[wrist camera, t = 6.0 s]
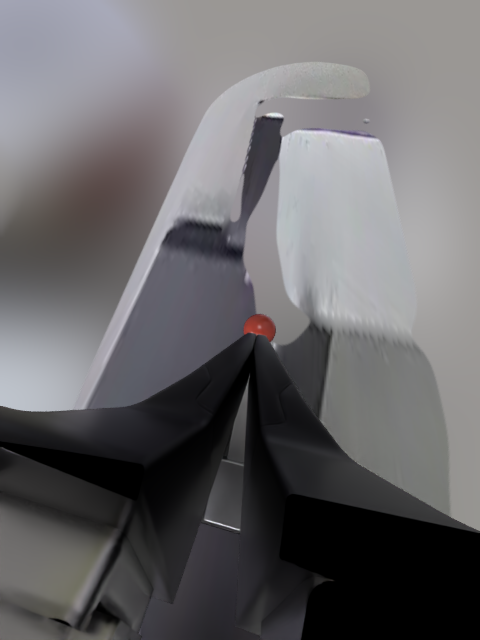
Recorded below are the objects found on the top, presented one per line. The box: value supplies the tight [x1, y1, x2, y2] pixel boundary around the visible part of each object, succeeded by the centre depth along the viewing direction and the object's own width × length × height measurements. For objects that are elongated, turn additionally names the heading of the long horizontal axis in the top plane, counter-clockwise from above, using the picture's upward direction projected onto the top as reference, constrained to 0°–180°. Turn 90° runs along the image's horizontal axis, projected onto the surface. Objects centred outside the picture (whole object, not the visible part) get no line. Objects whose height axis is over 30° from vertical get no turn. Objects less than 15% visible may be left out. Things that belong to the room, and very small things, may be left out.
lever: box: [204, 314, 276, 531], centre depth 15 cm, size 14×3×3 cm, turn 169°
